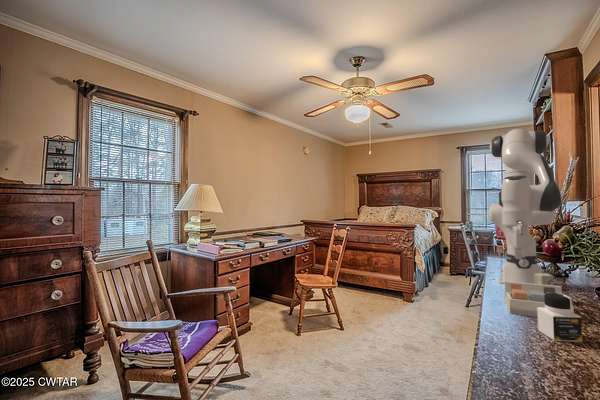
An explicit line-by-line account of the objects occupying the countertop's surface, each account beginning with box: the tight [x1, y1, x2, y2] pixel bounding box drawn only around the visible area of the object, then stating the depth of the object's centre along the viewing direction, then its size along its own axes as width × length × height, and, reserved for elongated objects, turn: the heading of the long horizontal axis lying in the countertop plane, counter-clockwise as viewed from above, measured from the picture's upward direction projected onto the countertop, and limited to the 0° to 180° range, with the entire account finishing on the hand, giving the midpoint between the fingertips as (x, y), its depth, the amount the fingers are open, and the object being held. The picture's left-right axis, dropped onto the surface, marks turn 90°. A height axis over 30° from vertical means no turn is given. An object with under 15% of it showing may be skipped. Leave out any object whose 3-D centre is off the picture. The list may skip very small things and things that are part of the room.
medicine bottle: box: [537, 293, 583, 343], centre depth 86 cm, size 7×7×12 cm
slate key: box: [529, 290, 545, 302], centre depth 104 cm, size 5×4×2 cm
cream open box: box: [503, 281, 575, 318], centre depth 106 cm, size 14×17×8 cm
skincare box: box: [534, 272, 555, 286], centre depth 118 cm, size 5×4×10 cm
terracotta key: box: [512, 289, 528, 301], centre depth 106 cm, size 5×4×2 cm
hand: (518, 258), depth 107 cm, fingers closed
